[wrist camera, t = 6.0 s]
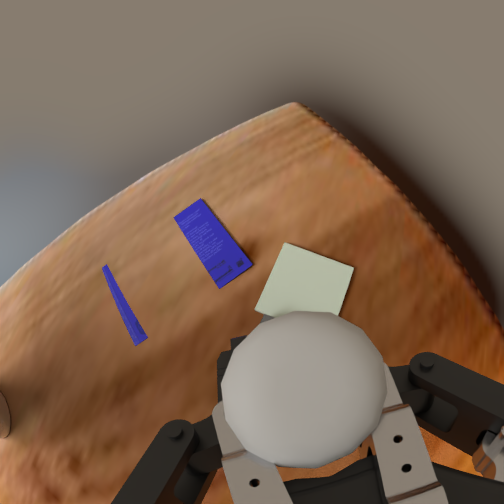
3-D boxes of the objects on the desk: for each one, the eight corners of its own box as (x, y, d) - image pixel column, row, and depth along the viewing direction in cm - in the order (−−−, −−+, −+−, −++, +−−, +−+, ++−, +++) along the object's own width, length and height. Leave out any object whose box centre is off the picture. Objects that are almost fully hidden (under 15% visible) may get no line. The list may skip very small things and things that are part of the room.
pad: (254, 310, 33) (254, 309, 33) (284, 244, 36) (284, 242, 36) (328, 339, 31) (329, 338, 31) (352, 269, 34) (353, 267, 34)
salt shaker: (314, 436, 16) (377, 519, 4) (230, 411, 17) (149, 459, 5) (341, 354, 18) (442, 302, 6) (259, 331, 19) (231, 244, 7)
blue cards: (65, 298, 36) (62, 296, 35) (201, 201, 41) (200, 198, 40) (95, 373, 31) (92, 373, 31) (253, 266, 36) (252, 264, 35)
